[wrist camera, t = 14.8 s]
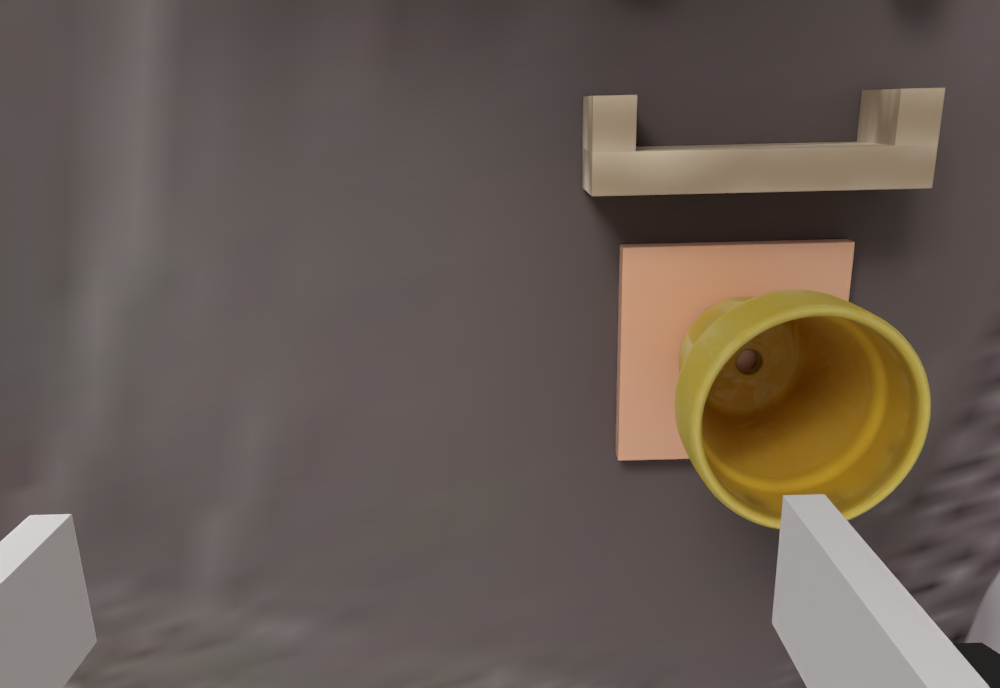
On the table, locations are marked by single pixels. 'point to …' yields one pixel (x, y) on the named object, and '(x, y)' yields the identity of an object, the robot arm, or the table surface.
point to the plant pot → (799, 403)
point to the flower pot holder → (767, 153)
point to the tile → (681, 300)
